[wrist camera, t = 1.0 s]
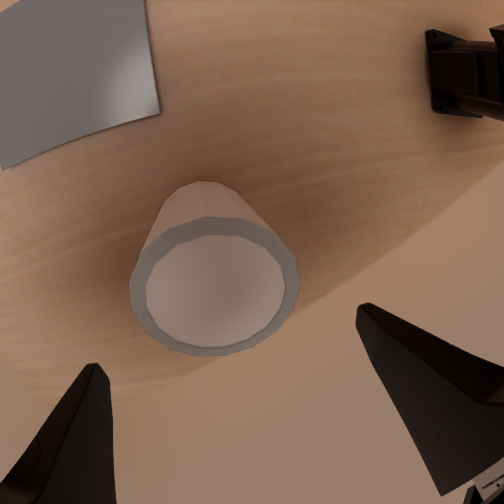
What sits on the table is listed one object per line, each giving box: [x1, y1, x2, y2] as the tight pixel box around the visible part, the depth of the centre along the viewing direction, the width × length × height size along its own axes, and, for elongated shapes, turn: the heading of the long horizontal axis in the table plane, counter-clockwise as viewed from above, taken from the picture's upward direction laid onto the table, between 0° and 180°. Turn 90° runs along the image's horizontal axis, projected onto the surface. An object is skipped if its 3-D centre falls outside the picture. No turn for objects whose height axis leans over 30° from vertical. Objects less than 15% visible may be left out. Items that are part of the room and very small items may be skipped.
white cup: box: [129, 181, 300, 356], centre depth 14 cm, size 7×7×7 cm
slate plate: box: [0, 0, 162, 171], centre depth 10 cm, size 10×10×1 cm
